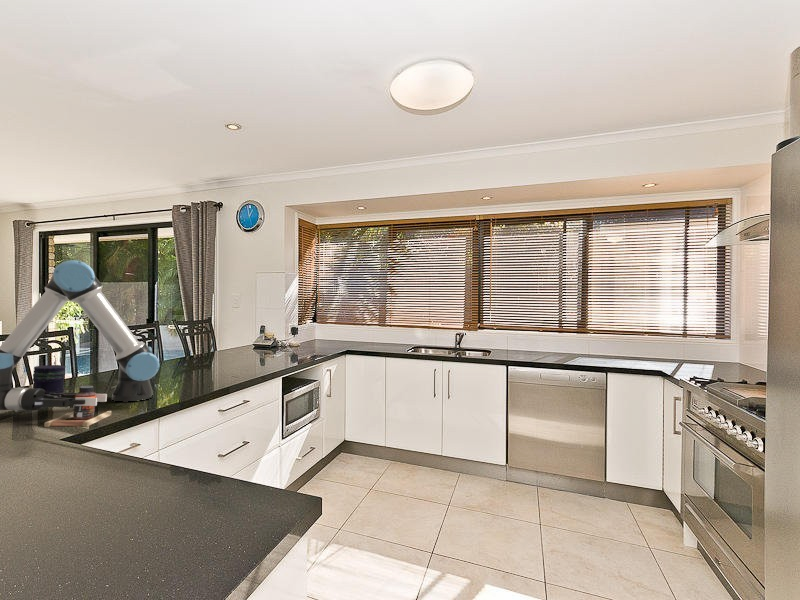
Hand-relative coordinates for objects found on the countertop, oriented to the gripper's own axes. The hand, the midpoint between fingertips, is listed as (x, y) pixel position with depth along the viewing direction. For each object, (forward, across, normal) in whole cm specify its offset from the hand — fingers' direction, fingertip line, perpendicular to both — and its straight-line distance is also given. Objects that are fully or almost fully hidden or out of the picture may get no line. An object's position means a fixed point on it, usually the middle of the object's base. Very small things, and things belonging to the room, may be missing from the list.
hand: (101, 399), depth 144 cm
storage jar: (-30, -23, -7) cm, 38 cm away
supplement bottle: (-5, 0, -7) cm, 9 cm away
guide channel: (-5, +3, -7) cm, 9 cm away
